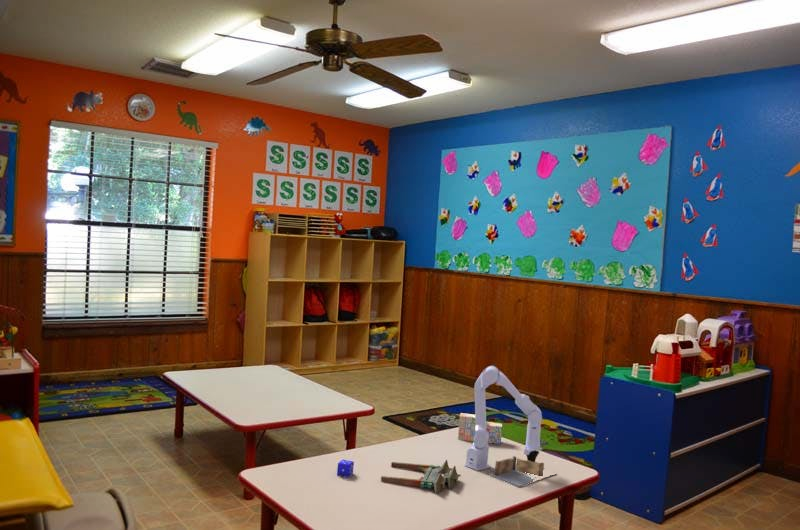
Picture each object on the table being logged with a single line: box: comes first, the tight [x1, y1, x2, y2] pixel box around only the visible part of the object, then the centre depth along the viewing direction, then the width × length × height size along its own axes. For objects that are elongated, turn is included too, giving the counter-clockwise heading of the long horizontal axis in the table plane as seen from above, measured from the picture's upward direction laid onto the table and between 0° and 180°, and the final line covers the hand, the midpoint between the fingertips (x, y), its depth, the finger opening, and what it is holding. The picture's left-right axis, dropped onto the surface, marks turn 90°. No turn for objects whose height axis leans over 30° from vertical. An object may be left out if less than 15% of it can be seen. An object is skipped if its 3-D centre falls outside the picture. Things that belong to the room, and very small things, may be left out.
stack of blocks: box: [457, 412, 503, 445], centre depth 305 cm, size 21×6×12 cm, turn 81°
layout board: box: [487, 464, 537, 488], centre depth 261 cm, size 28×16×1 cm, turn 134°
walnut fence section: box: [494, 455, 517, 476], centre depth 261 cm, size 14×2×6 cm, turn 134°
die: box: [336, 459, 355, 478], centre depth 245 cm, size 5×5×5 cm
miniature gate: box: [380, 459, 462, 496], centre depth 246 cm, size 27×6×30 cm
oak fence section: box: [516, 457, 545, 476], centre depth 262 cm, size 12×2×5 cm, turn 63°
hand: (530, 467), depth 263 cm, fingers closed, pressing on oak fence section
